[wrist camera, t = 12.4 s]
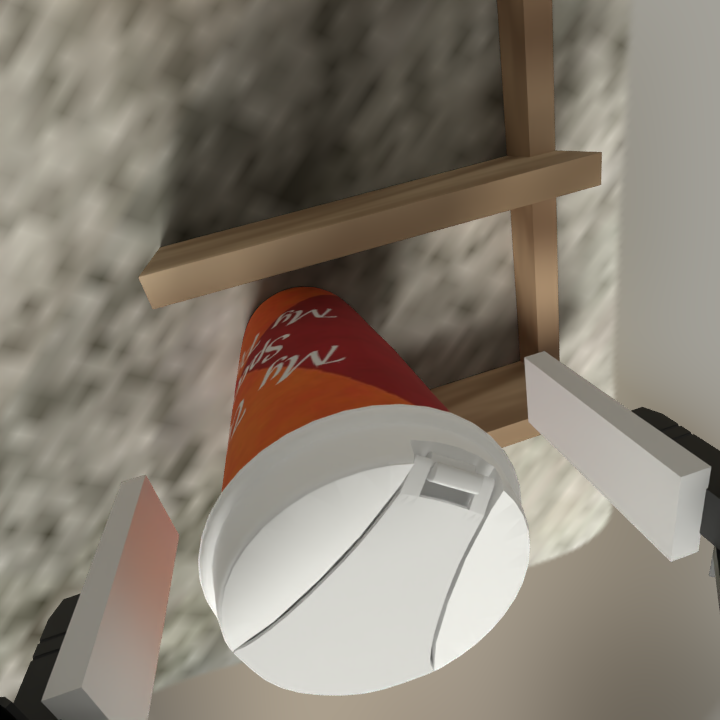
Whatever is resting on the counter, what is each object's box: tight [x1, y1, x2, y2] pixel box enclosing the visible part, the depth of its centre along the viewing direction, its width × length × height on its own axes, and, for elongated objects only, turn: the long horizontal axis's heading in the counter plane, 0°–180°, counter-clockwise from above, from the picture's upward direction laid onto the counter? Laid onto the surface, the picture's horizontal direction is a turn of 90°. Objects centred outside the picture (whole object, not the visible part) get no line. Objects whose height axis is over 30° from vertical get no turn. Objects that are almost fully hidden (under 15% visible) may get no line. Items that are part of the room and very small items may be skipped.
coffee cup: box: [198, 287, 530, 695], centre depth 17 cm, size 8×8×15 cm
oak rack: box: [139, 0, 602, 448], centre depth 17 cm, size 35×18×5 cm, turn 12°
